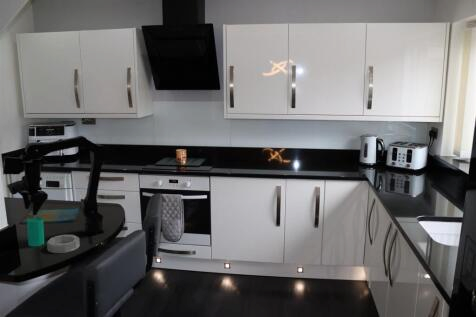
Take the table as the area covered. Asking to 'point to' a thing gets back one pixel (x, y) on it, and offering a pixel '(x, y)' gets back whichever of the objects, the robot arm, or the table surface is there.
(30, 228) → the candle
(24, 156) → the robot arm
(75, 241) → the candle dish
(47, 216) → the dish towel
